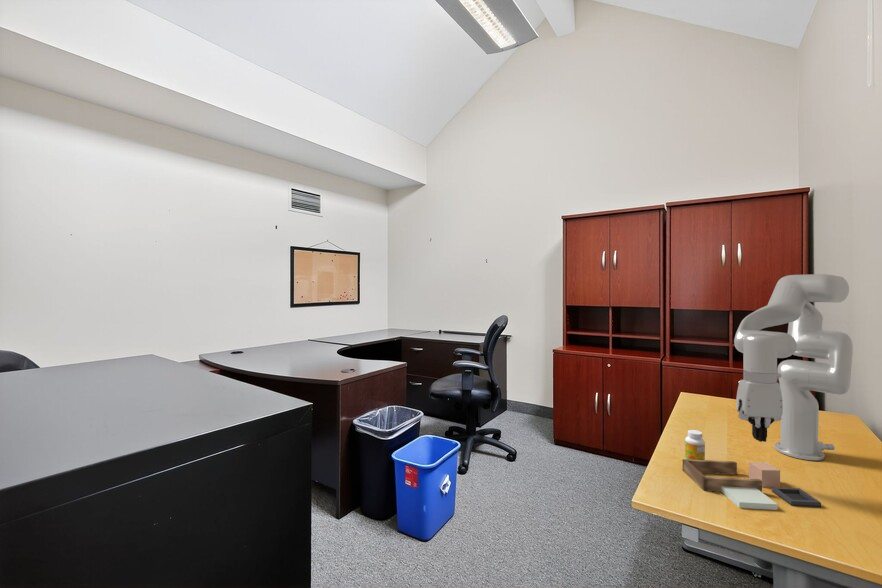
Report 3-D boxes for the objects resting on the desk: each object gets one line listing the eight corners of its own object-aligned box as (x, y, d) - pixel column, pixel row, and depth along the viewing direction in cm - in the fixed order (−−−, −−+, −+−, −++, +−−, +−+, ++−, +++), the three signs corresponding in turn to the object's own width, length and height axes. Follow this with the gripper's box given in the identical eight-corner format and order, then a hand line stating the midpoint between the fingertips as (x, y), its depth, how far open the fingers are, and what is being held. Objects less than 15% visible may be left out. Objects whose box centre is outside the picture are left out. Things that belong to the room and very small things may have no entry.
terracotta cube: (766, 479, 116) (766, 462, 116) (780, 487, 111) (780, 470, 111) (748, 478, 116) (748, 462, 116) (761, 487, 111) (761, 470, 111)
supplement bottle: (681, 458, 130) (681, 429, 130) (696, 457, 130) (696, 428, 130) (693, 465, 125) (693, 435, 124) (708, 464, 125) (709, 434, 125)
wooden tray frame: (734, 472, 120) (734, 461, 120) (762, 493, 108) (762, 481, 108) (682, 470, 121) (682, 459, 121) (703, 490, 109) (703, 478, 109)
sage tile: (756, 493, 108) (756, 487, 108) (777, 509, 100) (777, 504, 100) (721, 491, 109) (721, 486, 109) (739, 507, 101) (739, 502, 101)
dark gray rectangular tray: (799, 492, 108) (799, 488, 108) (821, 507, 101) (821, 502, 101) (771, 491, 109) (772, 487, 109) (791, 505, 102) (791, 501, 102)
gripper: (779, 374, 115) (778, 435, 116) (724, 373, 117) (724, 434, 118) (798, 380, 108) (798, 446, 108) (739, 380, 110) (739, 444, 111)
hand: (759, 439), depth 113 cm, fingers closed
